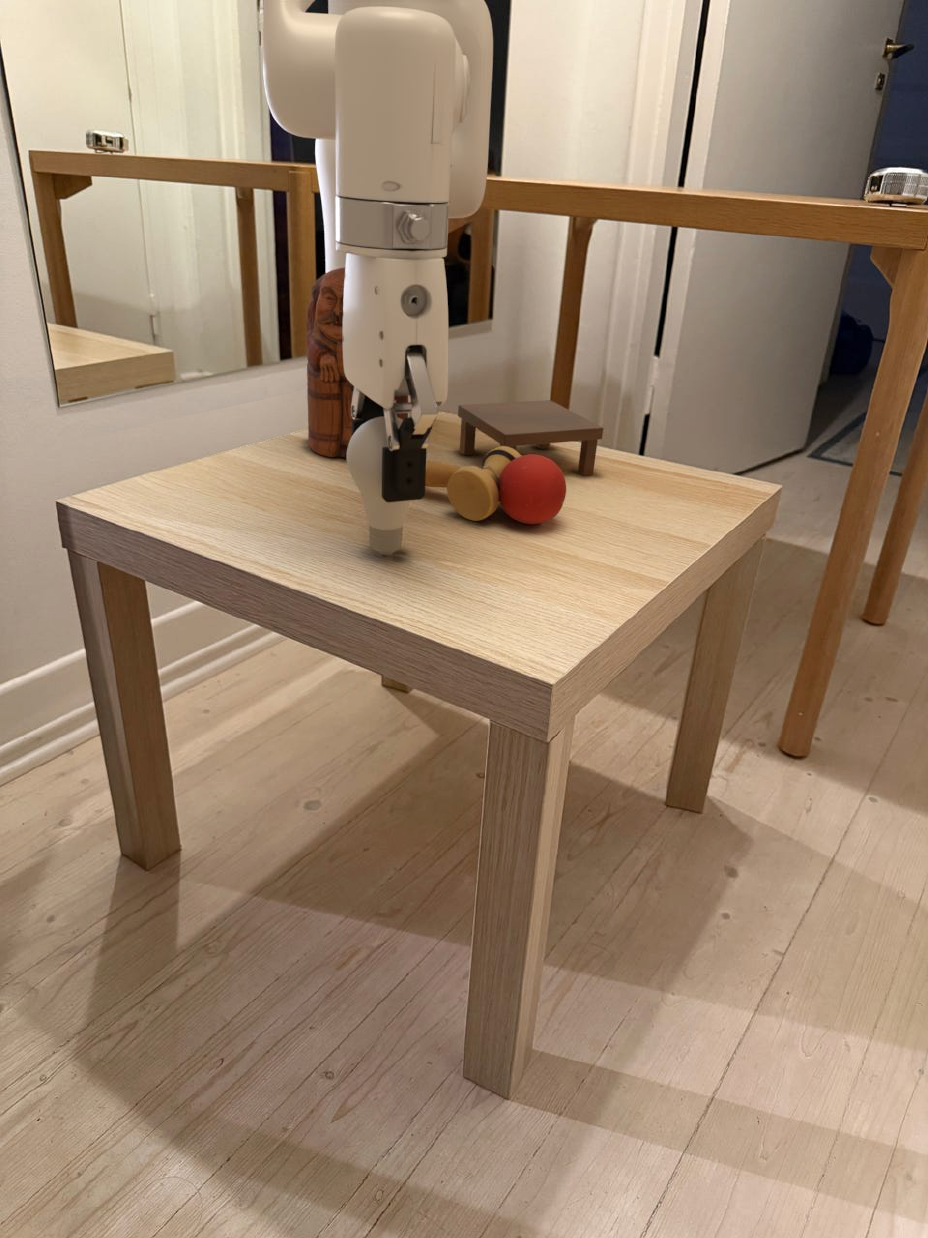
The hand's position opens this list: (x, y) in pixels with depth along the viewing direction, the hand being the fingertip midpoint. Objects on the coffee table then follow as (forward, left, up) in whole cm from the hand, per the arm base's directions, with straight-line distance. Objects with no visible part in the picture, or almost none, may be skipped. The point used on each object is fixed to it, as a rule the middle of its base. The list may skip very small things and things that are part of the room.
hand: (386, 481), depth 69 cm
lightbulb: (0, 0, -6) cm, 6 cm away
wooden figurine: (-26, +6, -6) cm, 27 cm away
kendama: (-8, +11, -6) cm, 15 cm away
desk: (-18, +22, -6) cm, 29 cm away
